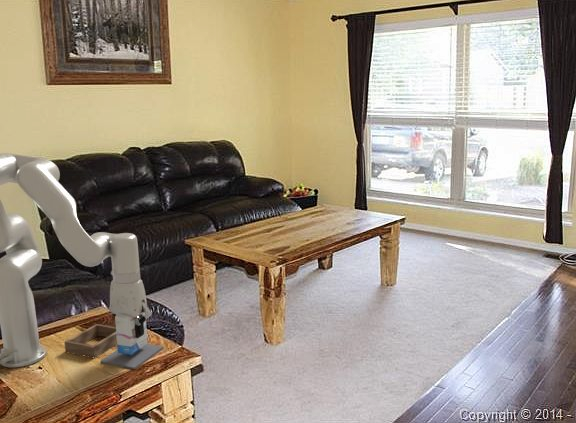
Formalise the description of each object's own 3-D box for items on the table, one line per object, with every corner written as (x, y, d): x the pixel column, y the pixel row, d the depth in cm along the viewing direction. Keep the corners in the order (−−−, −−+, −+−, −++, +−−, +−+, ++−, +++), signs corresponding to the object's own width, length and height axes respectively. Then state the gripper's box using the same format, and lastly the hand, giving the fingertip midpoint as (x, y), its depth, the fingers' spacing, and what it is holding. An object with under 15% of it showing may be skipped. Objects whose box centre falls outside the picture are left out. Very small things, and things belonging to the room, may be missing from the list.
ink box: (131, 355, 160) (128, 317, 158) (117, 353, 162) (113, 315, 160) (148, 343, 168) (145, 306, 166) (134, 341, 170) (131, 304, 167)
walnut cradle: (94, 358, 164) (93, 347, 163) (65, 352, 168) (64, 341, 167) (125, 338, 176) (124, 328, 176) (97, 333, 180) (96, 323, 180)
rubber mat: (134, 369, 157) (134, 367, 156) (100, 362, 161) (100, 360, 161) (163, 348, 169) (163, 346, 169) (131, 342, 174) (131, 340, 174)
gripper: (94, 277, 160) (100, 335, 164) (143, 283, 154) (148, 344, 158) (111, 269, 167) (116, 325, 171) (159, 275, 161) (163, 333, 164)
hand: (131, 334), depth 164 cm, fingers closed on ink box, 5 cm apart
